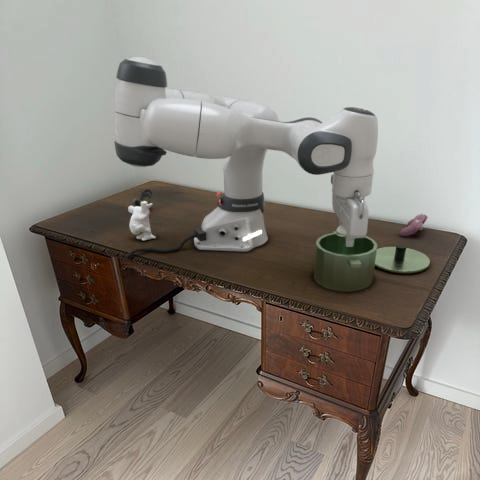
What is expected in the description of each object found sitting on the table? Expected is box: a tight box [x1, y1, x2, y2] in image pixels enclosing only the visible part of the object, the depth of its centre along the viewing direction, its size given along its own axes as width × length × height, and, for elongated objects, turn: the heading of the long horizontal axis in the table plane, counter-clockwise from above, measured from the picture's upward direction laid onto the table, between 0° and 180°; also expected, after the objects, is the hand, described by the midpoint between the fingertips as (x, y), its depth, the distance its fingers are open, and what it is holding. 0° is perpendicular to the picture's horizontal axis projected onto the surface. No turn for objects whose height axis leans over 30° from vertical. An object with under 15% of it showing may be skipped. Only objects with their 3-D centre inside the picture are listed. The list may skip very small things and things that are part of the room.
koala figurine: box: [127, 201, 157, 242], centre depth 142 cm, size 8×7×12 cm
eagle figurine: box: [131, 188, 153, 210], centre depth 167 cm, size 8×7×9 cm
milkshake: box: [336, 224, 352, 255], centre depth 114 cm, size 4×5×10 cm
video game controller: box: [399, 213, 429, 237], centre depth 142 cm, size 10×5×7 cm, turn 148°
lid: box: [375, 243, 431, 274], centre depth 125 cm, size 16×16×5 cm
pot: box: [313, 230, 379, 293], centre depth 117 cm, size 15×20×10 cm
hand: (346, 241), depth 114 cm, fingers closed on milkshake, 4 cm apart
